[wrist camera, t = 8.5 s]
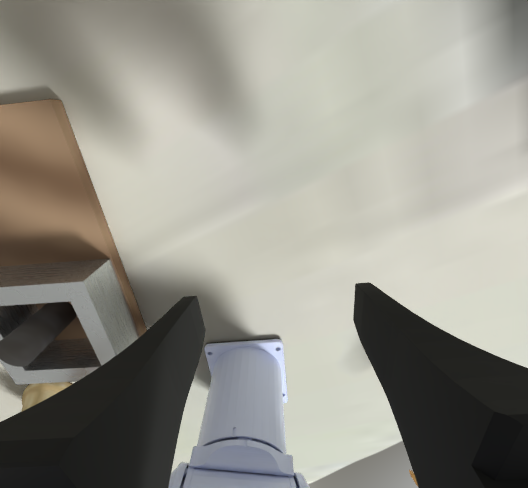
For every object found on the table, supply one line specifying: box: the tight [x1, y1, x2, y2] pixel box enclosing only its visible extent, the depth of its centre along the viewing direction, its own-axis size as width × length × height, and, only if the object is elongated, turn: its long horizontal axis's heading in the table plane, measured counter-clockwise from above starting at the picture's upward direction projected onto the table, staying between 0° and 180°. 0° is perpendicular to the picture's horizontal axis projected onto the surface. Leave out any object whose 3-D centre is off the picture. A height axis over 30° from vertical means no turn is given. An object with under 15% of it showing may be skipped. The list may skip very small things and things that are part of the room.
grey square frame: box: [0, 259, 140, 385], centre depth 22 cm, size 10×10×4 cm
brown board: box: [0, 99, 147, 367], centre depth 20 cm, size 22×13×6 cm, turn 6°
